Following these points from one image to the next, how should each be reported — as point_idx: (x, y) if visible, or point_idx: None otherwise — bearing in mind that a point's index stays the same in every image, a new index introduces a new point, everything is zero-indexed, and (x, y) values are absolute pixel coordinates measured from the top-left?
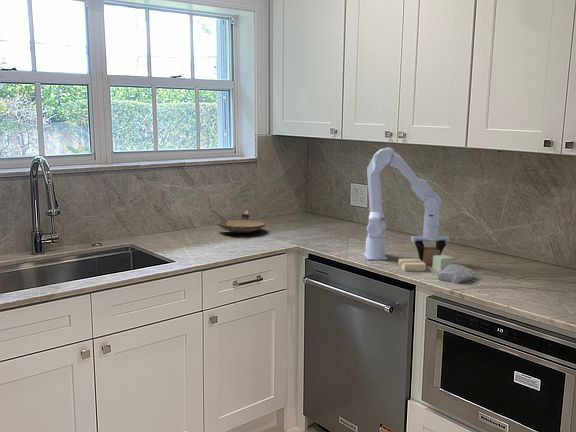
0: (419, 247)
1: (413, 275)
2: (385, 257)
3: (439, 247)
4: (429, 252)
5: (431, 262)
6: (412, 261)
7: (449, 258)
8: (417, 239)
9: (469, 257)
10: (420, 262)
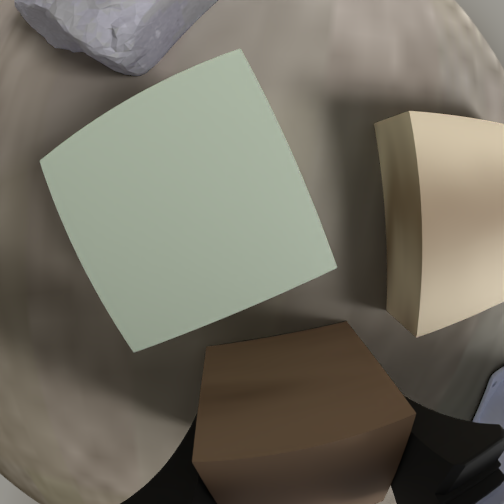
0: (470, 423)
1: (447, 32)
2: (492, 389)
3: (196, 500)
4: (341, 412)
5: (282, 348)
6: (489, 219)
7: (84, 130)
8: (495, 501)
9: (47, 463)
10: (445, 184)
